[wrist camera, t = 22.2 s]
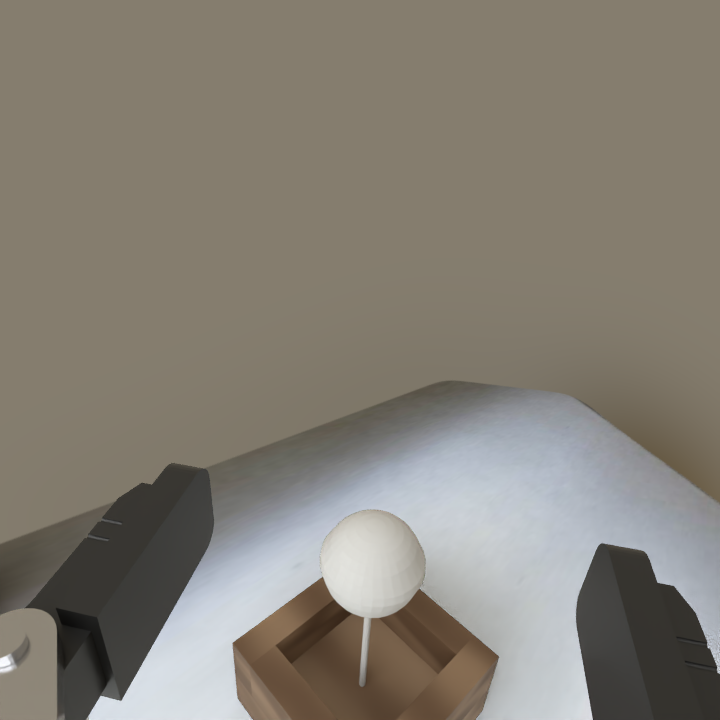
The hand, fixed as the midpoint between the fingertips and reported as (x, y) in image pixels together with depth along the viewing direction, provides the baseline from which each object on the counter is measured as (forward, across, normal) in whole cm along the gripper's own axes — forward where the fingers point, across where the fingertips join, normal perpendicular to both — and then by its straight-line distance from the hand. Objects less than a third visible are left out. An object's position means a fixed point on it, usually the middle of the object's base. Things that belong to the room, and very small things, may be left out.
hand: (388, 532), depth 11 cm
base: (+14, +1, +32) cm, 35 cm away
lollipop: (+13, +1, +29) cm, 32 cm away
